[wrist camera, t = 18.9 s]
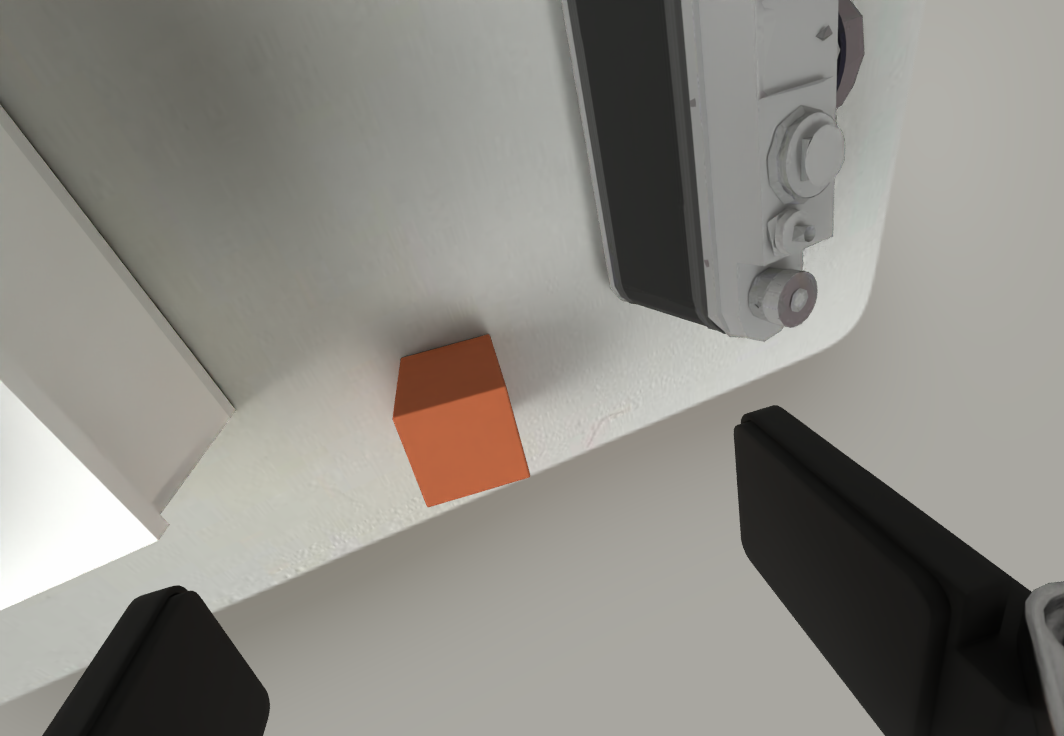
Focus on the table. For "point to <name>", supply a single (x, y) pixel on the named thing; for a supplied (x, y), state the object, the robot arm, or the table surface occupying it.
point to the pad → (457, 421)
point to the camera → (714, 149)
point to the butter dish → (83, 390)
